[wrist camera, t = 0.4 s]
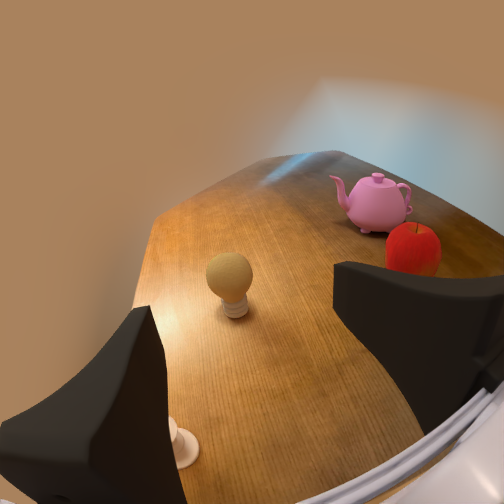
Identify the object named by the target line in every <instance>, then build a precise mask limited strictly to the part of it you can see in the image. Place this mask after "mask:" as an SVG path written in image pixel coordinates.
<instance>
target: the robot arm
mask: <svg viewBox="0 0 504 504" xmlns="http://www.w3.org/2000/svg"><path fill="white" fill-rule="evenodd" d="M333 309H334V311H335V312H336V314H337V315H338V317H339V318H340V319H341V321H342V322H343V323H344V325H345V326H346V327H347V328H348V329H349V330H350V331H351V332H352V333H353V334H354V336H355V337H356V338H357V339H358V340H359V341H360V342H361V343H362V344H363V345H364V346H365V347H366V348H367V349H368V350H369V351H370V352H371V353H372V354H373V355H374V356H375V357H376V358H377V359H378V361H379V362H380V363H381V364H382V365H383V367H384V368H385V369H386V371H387V372H388V373H389V375H390V376H391V378H392V379H393V380H394V382H395V383H396V385H397V386H398V388H399V389H400V391H401V392H402V394H403V395H404V397H405V399H406V400H407V402H408V404H409V406H410V407H411V409H412V411H413V413H414V414H415V416H416V418H417V420H418V422H419V424H420V427H421V429H422V431H423V433H424V435H425V437H423V438H422V439H421V440H419V441H418V442H416V443H415V444H413V445H412V446H410V447H409V448H407V449H406V450H404V451H403V452H401V453H400V454H398V455H396V456H395V457H393V458H392V459H390V460H388V461H387V462H385V463H383V464H381V465H380V466H378V467H376V468H374V469H372V470H371V471H369V472H367V473H365V474H363V475H361V476H359V477H357V478H355V479H353V480H351V481H349V482H347V483H345V484H343V485H340V486H338V487H336V488H334V489H331V490H329V491H327V492H324V493H322V494H320V495H317V496H315V497H312V498H309V499H307V500H304V501H301V502H298V503H295V504H363V503H365V502H366V501H368V500H370V499H372V498H374V497H376V496H377V495H379V494H381V493H383V492H384V491H386V490H388V489H389V488H391V487H393V486H394V485H396V484H398V483H399V482H401V481H402V480H404V479H405V478H407V477H408V476H410V475H411V474H413V473H414V472H416V471H417V470H419V469H420V468H421V467H423V466H424V465H425V464H427V463H428V462H429V461H431V460H432V459H433V458H435V457H436V456H437V455H439V454H440V453H441V452H442V451H444V450H445V449H446V448H447V447H448V446H450V445H451V444H452V443H453V442H454V441H455V440H457V439H458V438H459V437H460V436H461V435H462V434H463V433H464V432H465V433H464V434H463V435H462V436H461V437H460V438H459V439H458V441H457V442H456V444H455V445H454V447H453V448H452V450H451V451H450V452H449V453H448V454H447V456H446V457H445V458H443V459H442V460H441V461H440V462H438V463H437V464H436V465H435V466H433V467H432V468H431V469H429V470H428V471H427V472H426V473H424V474H423V475H422V476H420V477H419V478H417V479H416V480H415V481H413V482H412V483H411V484H409V485H408V486H406V487H405V488H403V489H402V490H400V491H399V492H397V493H396V494H394V495H393V496H391V497H390V498H388V499H386V500H385V501H383V502H382V503H380V504H504V275H500V276H494V277H486V278H473V279H451V278H437V277H428V276H420V275H415V274H409V273H404V272H399V271H394V270H390V269H386V268H381V267H377V266H372V265H368V264H363V263H358V262H350V261H345V262H341V263H338V264H334V285H333ZM0 474H1V475H2V476H3V477H4V478H5V479H6V480H7V481H9V482H10V483H11V484H12V485H14V486H15V487H16V488H17V489H19V490H20V491H21V492H23V493H24V494H26V495H27V496H29V497H30V498H31V499H33V500H34V501H36V502H37V503H38V504H187V501H186V498H185V494H184V491H183V487H182V484H181V480H180V477H179V473H178V469H177V464H176V460H175V456H174V451H173V446H172V441H171V436H170V429H169V416H168V383H167V367H166V359H165V352H164V348H163V345H162V342H161V339H160V336H159V333H158V330H157V327H156V324H155V321H154V318H153V315H152V312H151V308H150V305H148V306H143V307H138V308H133V310H132V311H131V312H130V313H129V314H128V316H127V317H126V318H125V320H124V321H123V323H122V324H121V325H120V326H119V328H118V329H117V330H116V332H115V333H114V334H113V336H112V337H111V338H110V339H109V341H108V342H107V343H106V344H105V345H104V346H103V348H102V349H101V350H100V351H99V353H98V354H97V355H96V356H95V357H94V358H93V359H92V360H91V361H90V362H89V363H88V364H87V365H86V366H85V367H84V368H83V369H82V370H81V371H80V372H79V373H78V374H77V375H76V376H75V377H73V378H72V379H71V380H70V381H68V382H67V383H66V384H65V385H64V386H62V387H61V388H60V389H59V390H57V391H56V392H55V393H53V394H52V395H50V396H49V397H47V398H46V399H44V400H43V401H41V402H40V403H38V404H36V405H35V406H33V407H31V408H30V409H28V410H26V411H24V412H22V413H20V414H19V415H16V416H14V417H12V418H10V419H8V420H6V421H4V422H2V424H1V427H0ZM0 504H16V503H12V502H9V501H6V500H3V499H0Z"/></svg>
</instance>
